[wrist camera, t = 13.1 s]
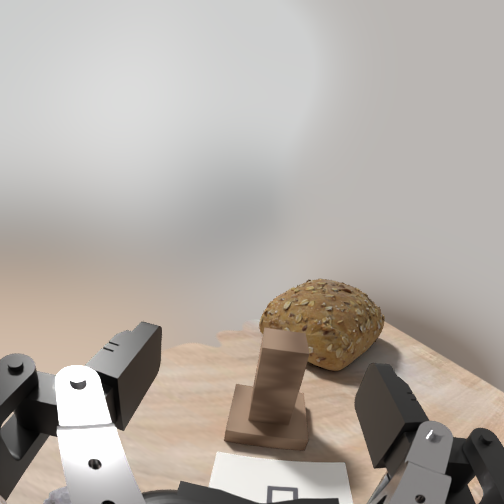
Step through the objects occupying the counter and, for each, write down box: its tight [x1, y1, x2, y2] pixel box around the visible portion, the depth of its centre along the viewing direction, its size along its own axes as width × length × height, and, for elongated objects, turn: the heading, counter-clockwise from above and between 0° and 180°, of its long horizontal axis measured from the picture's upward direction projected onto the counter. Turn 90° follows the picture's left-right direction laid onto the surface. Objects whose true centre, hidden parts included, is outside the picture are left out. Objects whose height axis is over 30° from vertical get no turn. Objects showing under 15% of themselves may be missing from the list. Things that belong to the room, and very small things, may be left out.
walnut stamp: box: [224, 328, 309, 450], centre depth 31 cm, size 9×9×12 cm
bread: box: [259, 279, 385, 371], centre depth 55 cm, size 24×21×12 cm
